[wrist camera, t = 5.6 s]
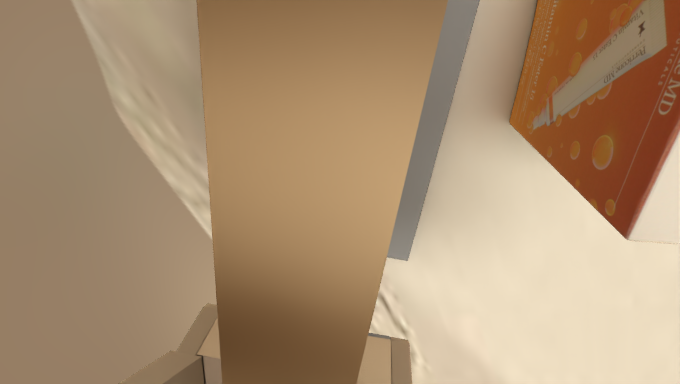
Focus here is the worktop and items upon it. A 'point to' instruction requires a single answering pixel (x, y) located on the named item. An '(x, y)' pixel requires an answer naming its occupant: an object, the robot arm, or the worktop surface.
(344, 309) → the wooden t-shaped stand
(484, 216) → the worktop surface
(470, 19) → the mat
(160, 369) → the robot arm
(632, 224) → the small box
